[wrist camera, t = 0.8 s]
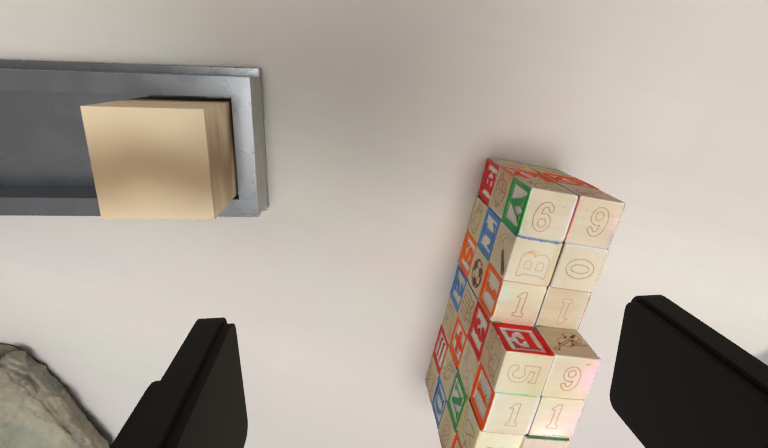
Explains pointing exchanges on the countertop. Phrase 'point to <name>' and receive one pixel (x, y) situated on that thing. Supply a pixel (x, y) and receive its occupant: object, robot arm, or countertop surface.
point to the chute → (68, 140)
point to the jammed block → (162, 157)
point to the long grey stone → (39, 408)
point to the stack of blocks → (521, 311)
